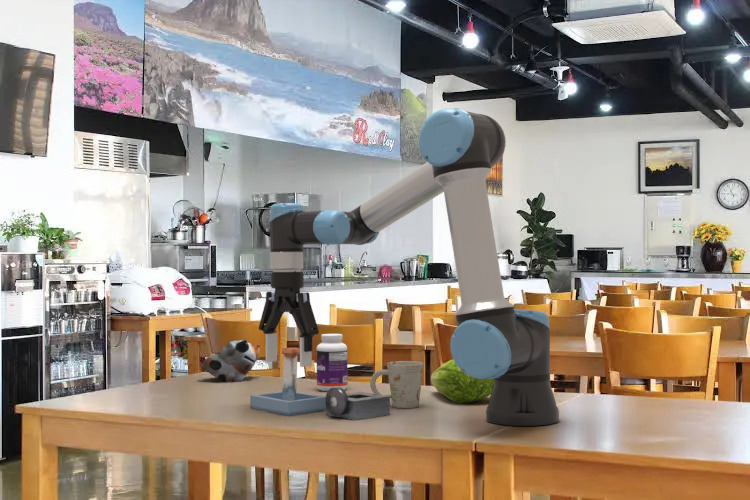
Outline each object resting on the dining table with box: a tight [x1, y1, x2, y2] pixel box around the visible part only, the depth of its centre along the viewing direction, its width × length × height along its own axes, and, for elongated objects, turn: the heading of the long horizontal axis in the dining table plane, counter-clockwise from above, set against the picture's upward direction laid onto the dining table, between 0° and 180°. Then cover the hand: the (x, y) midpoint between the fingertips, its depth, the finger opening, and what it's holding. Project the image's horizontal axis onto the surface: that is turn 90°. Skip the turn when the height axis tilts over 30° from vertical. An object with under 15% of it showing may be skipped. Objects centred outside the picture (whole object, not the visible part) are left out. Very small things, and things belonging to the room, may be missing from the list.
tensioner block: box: [325, 387, 391, 421], centre depth 217 cm, size 10×12×6 cm
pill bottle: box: [315, 333, 349, 392], centre depth 257 cm, size 8×8×14 cm
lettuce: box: [430, 358, 494, 404], centre depth 240 cm, size 12×24×13 cm
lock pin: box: [281, 347, 300, 401], centre depth 226 cm, size 4×4×13 cm
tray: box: [249, 391, 326, 417], centre depth 226 cm, size 15×11×3 cm
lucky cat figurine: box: [200, 339, 261, 383], centre depth 281 cm, size 15×12×14 cm
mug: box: [369, 360, 424, 409], centre depth 229 cm, size 8×13×10 cm, turn 78°
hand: (288, 364), depth 226 cm, fingers open, 13 cm apart
